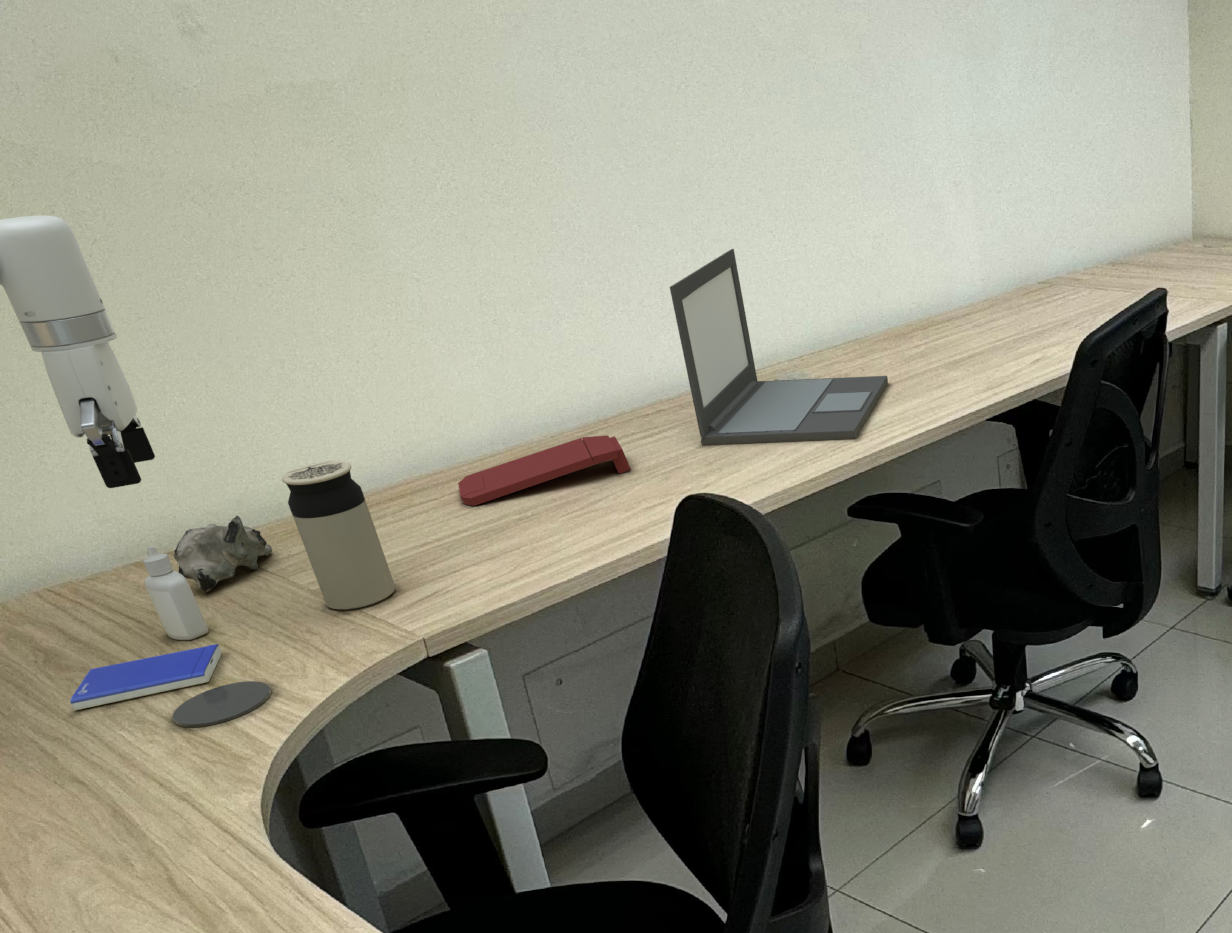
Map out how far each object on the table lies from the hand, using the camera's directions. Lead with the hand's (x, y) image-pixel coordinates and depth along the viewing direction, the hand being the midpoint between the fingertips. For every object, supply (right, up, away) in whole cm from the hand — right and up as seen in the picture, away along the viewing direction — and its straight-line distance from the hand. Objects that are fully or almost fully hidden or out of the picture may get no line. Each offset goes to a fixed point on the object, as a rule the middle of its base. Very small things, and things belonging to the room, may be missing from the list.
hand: (132, 472), depth 136 cm
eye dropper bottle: (0, -20, +8) cm, 21 cm away
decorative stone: (-7, -12, +25) cm, 28 cm away
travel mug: (+17, -16, +16) cm, 28 cm away
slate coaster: (+17, -27, -8) cm, 33 cm away
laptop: (+57, +18, +83) cm, 102 cm away
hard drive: (+5, -25, -3) cm, 25 cm away
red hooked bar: (+22, +3, +54) cm, 59 cm away
